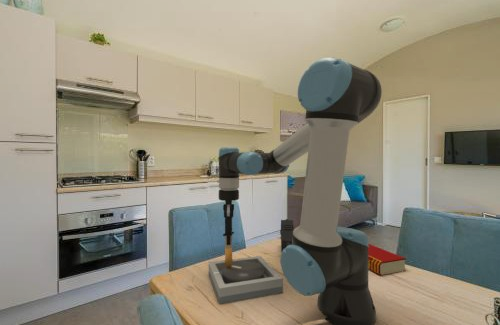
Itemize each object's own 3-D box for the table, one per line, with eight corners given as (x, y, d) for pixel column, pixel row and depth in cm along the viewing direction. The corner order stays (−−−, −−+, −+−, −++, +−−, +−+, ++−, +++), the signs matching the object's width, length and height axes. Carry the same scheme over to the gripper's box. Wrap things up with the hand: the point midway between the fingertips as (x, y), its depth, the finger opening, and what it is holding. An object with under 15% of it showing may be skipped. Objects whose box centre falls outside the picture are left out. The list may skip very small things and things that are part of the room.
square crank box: (282, 292, 79) (282, 277, 79) (219, 304, 72) (219, 287, 72) (260, 267, 98) (260, 255, 98) (208, 274, 91) (208, 261, 91)
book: (344, 258, 108) (344, 246, 108) (368, 254, 112) (368, 243, 112) (379, 276, 90) (379, 262, 90) (405, 271, 95) (405, 258, 95)
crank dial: (269, 271, 88) (269, 247, 88) (253, 290, 76) (253, 261, 76) (234, 265, 94) (234, 242, 94) (213, 281, 82) (213, 254, 82)
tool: (292, 240, 122) (293, 216, 115) (295, 274, 105) (296, 247, 98) (279, 240, 123) (280, 215, 116) (280, 273, 106) (281, 247, 99)
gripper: (219, 187, 100) (219, 246, 100) (217, 191, 87) (217, 259, 87) (238, 187, 100) (238, 246, 101) (239, 191, 87) (238, 259, 88)
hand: (228, 252), depth 94 cm, fingers closed
